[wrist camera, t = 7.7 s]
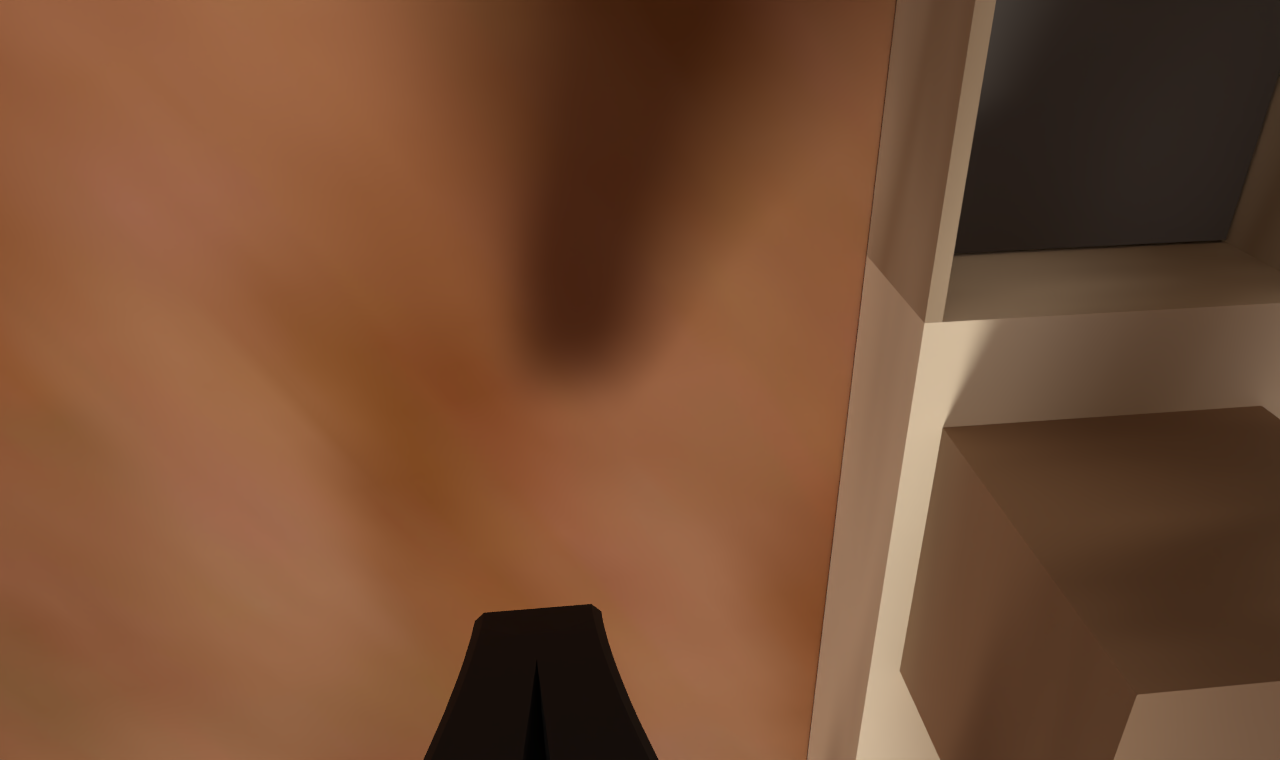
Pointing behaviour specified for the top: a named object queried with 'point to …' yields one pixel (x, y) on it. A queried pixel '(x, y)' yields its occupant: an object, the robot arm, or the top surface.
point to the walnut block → (1102, 590)
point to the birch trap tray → (1042, 273)
